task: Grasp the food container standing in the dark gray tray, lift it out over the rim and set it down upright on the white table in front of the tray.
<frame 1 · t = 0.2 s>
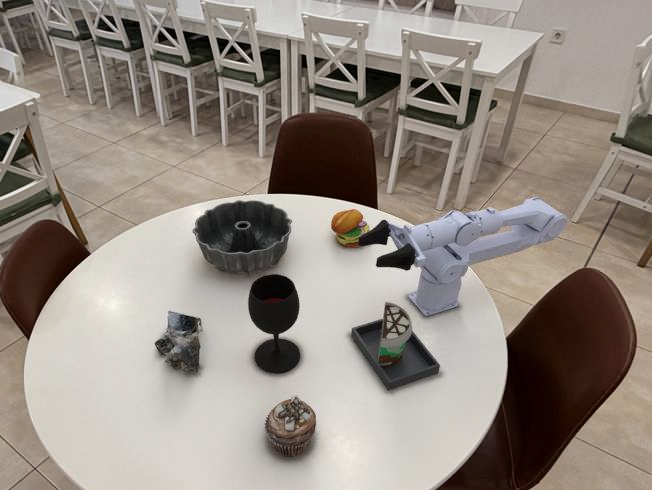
hand: (368, 251, 103), 21 cm above the table, tool horizontal, fingers open, 7 cm apart
cupcake: (290, 439, 96), on the table
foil: (184, 350, 113), on the table
bundt pan: (246, 255, 139), on the table
food container: (392, 354, 110), resting on dark gray tray
dark gray tray: (392, 354, 110), on the table
cheeseburger: (350, 240, 143), on the table
wine glass: (277, 356, 111), on the table
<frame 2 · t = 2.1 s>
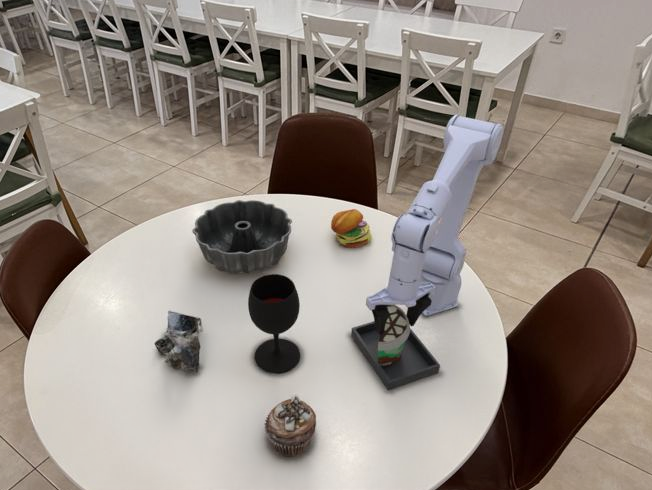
hand: (394, 327, 103), 9 cm above the table, tool pointing down, fingers closed on food container, 7 cm apart
food container: (393, 352, 110), point 1 cm above the table, touching gripper, dark gray tray
everything else where it was.
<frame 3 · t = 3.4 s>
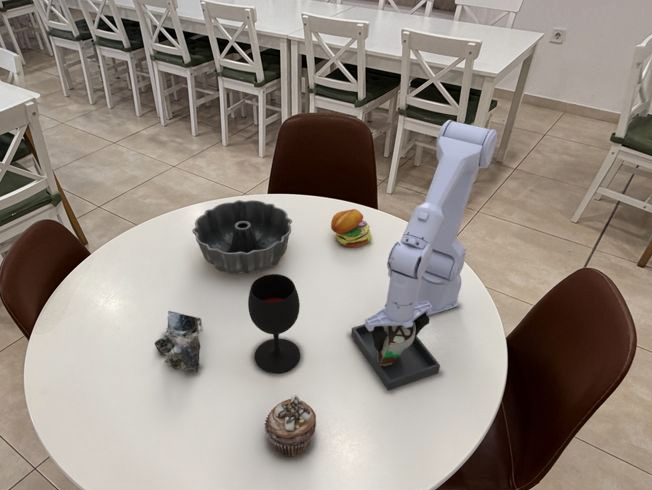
hand: (393, 343, 108), 4 cm above the table, tool pointing down
food container: (390, 352, 110), resting on dark gray tray, touching gripper
everything else where it was.
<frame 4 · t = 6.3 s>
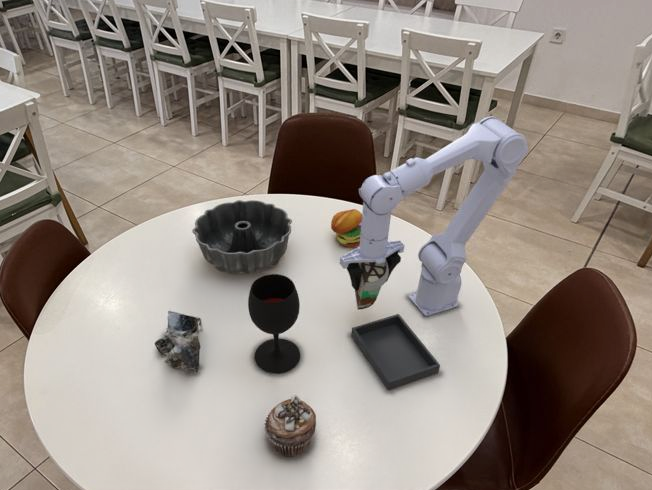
hand: (369, 283, 112), 10 cm above the table, tool pointing down, fingers closed on food container, 7 cm apart
food container: (368, 294, 115), point 7 cm above the table, touching gripper
everything else where it was.
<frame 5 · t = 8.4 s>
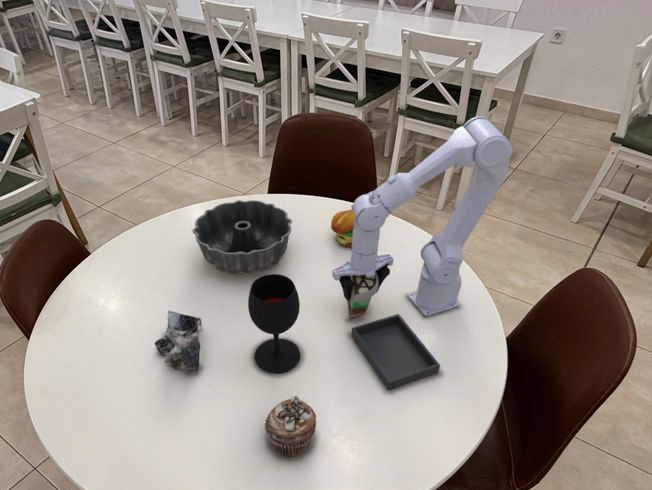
hand: (360, 294, 119), 4 cm above the table, tool pointing down, fingers closed on food container, 7 cm apart
food container: (359, 304, 121), point 1 cm above the table, touching gripper
everything else where it was.
when the fingers open (4 cm above the table, at t = 9.7 s): food container stays where it is, on the table.
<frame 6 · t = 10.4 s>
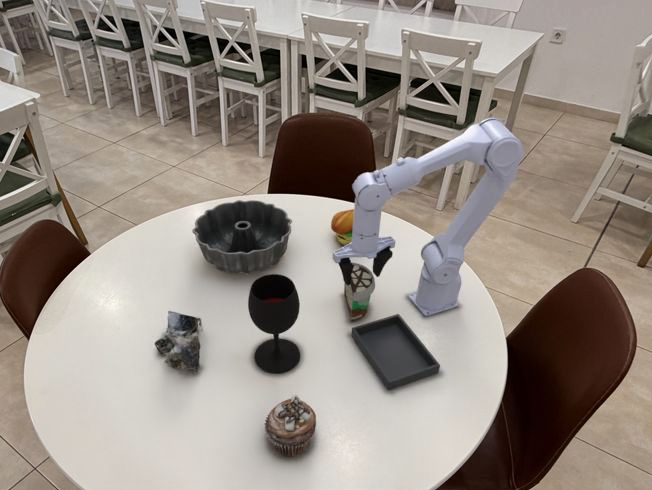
hand: (361, 278, 115), 9 cm above the table, tool pointing down, fingers open, 7 cm apart
food container: (359, 308, 122), on the table
everything else where it was.
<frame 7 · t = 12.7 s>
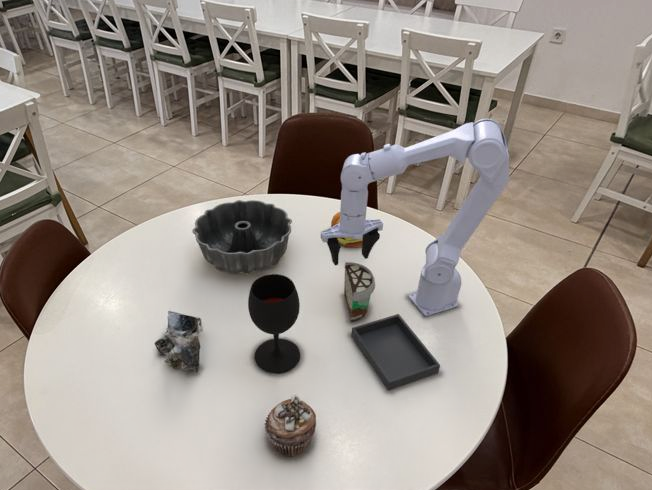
hand: (349, 259, 119), 10 cm above the table, tool pointing down, fingers open, 7 cm apart
nothing on the table moved.
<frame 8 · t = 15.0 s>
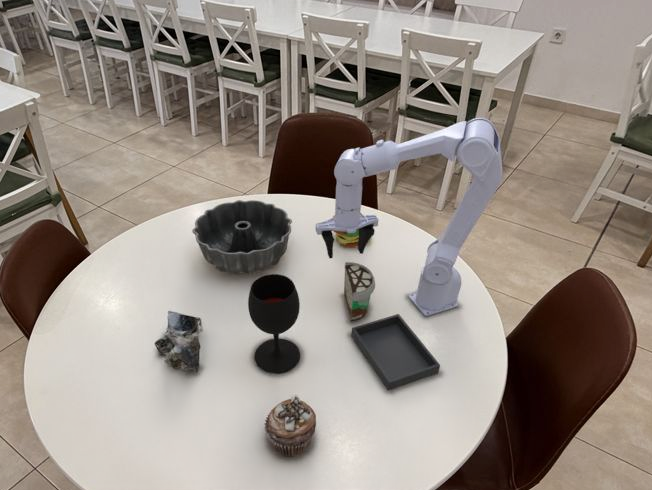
hand: (345, 253, 121), 10 cm above the table, tool pointing down, fingers open, 7 cm apart
nothing on the table moved.
at the end: food container inside the target area (0.2 cm from its centre), on the table; food container tilted 0°; food container touching table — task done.
